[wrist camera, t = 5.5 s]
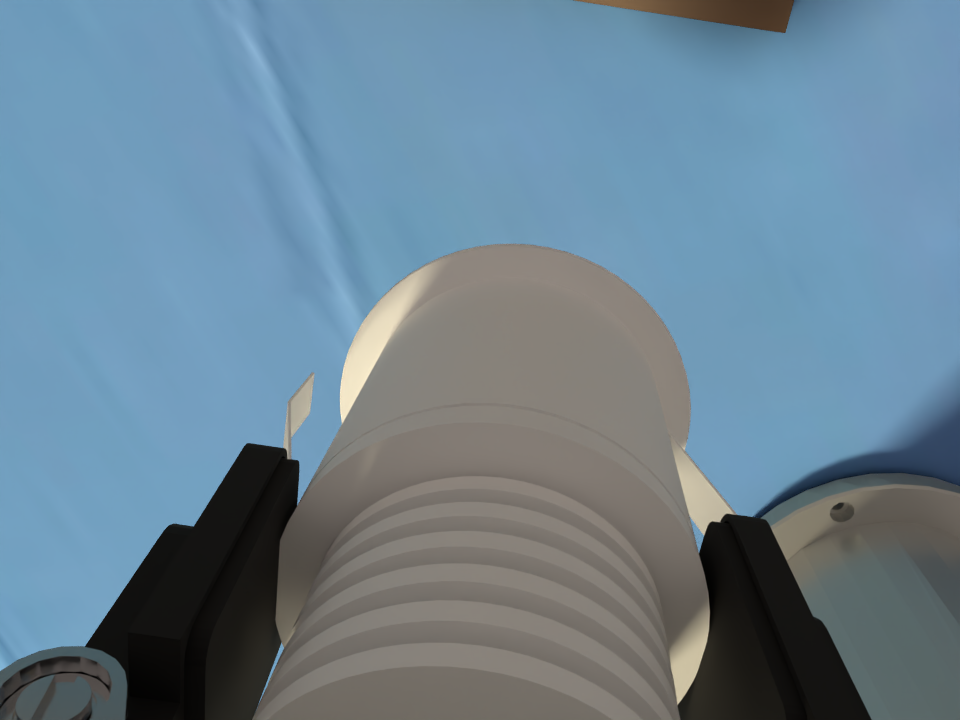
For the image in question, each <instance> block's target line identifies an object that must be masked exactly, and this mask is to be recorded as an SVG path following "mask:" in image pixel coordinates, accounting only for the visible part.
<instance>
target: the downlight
mask: <svg viewBox="0 0 960 720" xmlns="http://www.w3.org/2000/svg"><path fill="white" fill-rule="evenodd" d="M313 381H314V373H311V374H310V376H309V377H308V378H307V379H306V381H305V382H304V383H303V384H302V385H301V387H300V388H299V389H298V390H297V391H296V393H295V394H294V395H293V396H292V397H291V399H290V400H289V401H288V407H287V416H286V426H285V436H284V448H285V449H286V450H287V459H291V438H292V436H293V435H294V434H295V432H296V431H297V430H298V428H299V427H300V426H301V424H302V423H303V421H304V420H305V419H306V417H307V416H308V415H309V413H310V407H311V398H312V390H313ZM690 410H691V404H690V391H689V385H688V380H687V375H686V371H685V368H684V365H683V362H682V358H681V355H680V353H679V351H678V348H677V346H676V344H675V342H674V339H673V338H672V336H671V334H670V332H669V331H668V329H667V327H666V325H665V324H664V322H663V321H662V320H661V318H660V317H659V315H658V314H657V313H656V311H655V310H654V309H653V308H652V307H651V306H650V305H649V303H648V302H647V301H646V300H645V299H644V298H643V297H642V296H641V295H640V294H639V293H638V292H637V291H635V290H634V289H633V288H632V287H631V286H630V285H629V284H627V283H626V282H624V281H623V280H622V279H620V278H619V277H618V276H616V275H615V274H613V273H611V272H610V271H608V270H606V269H605V268H603V267H601V266H599V265H597V264H595V263H593V262H591V261H589V260H587V259H585V258H582V257H579V256H576V255H574V254H571V253H568V252H565V251H561V250H557V249H553V248H549V247H542V246H536V245H526V244H494V245H487V246H479V247H474V248H469V249H465V250H461V251H457V252H454V253H452V254H449V255H446V256H443V257H440V258H438V259H436V260H434V261H432V262H430V263H427V264H425V265H424V266H422V267H420V268H419V269H417V270H415V271H413V272H412V273H410V274H409V275H407V276H406V277H405V278H403V279H402V280H401V281H399V282H398V283H397V284H396V285H395V286H393V287H392V288H391V289H390V290H389V291H388V292H387V293H386V294H385V295H384V296H383V297H382V298H381V299H380V300H379V301H378V303H377V304H376V305H375V306H374V307H373V309H372V310H371V311H370V313H369V314H368V316H367V317H366V318H365V320H364V321H363V323H362V325H361V326H360V328H359V330H358V332H357V334H356V335H355V337H354V340H353V342H352V344H351V347H350V349H349V351H348V355H347V358H346V361H345V365H344V369H343V374H342V380H341V391H340V412H341V419H342V425H341V427H340V429H339V431H338V433H337V434H336V436H335V438H334V440H333V442H332V444H331V445H330V447H329V449H328V451H327V453H326V455H325V456H324V458H323V460H322V462H321V464H320V465H319V467H318V469H317V471H316V473H315V475H314V476H313V478H312V480H311V482H310V484H309V486H308V487H307V489H306V491H305V493H304V495H303V496H302V498H301V500H300V502H299V504H298V506H297V507H296V509H295V511H294V513H293V514H292V516H291V518H290V520H289V521H288V523H287V525H286V528H285V530H284V532H283V535H282V537H281V539H280V550H279V567H278V584H277V601H276V618H275V621H276V626H277V629H278V632H279V635H280V639H281V642H282V644H283V646H284V650H283V652H282V654H281V656H280V658H279V660H278V663H277V665H276V667H275V669H274V672H273V674H272V676H271V678H270V681H269V683H268V686H267V688H266V690H265V692H264V695H263V697H262V699H261V701H260V703H259V705H258V708H257V710H256V712H255V714H254V717H253V719H252V720H680V715H679V711H678V707H677V705H678V704H679V702H680V701H681V700H682V698H683V697H684V696H685V694H686V693H687V691H688V689H689V687H690V686H691V684H692V682H693V681H694V678H695V676H696V674H697V672H698V669H699V666H700V662H701V659H702V656H703V653H704V650H705V647H706V643H707V638H708V633H709V619H710V607H709V594H708V589H707V584H706V579H705V574H704V571H703V567H702V563H701V560H700V556H699V552H698V548H697V544H696V540H695V536H694V532H693V529H692V525H691V521H690V517H691V518H692V520H693V521H694V522H695V524H696V525H697V526H698V528H699V529H700V531H701V532H702V533H703V535H705V532H706V529H707V526H708V525H709V523H710V522H712V521H714V522H720V521H721V519H722V517H723V516H724V515H725V514H734V515H737V514H736V513H735V511H734V510H733V509H732V508H731V506H730V505H729V504H728V503H727V502H726V500H725V499H724V498H723V497H722V495H721V494H720V493H719V492H718V491H717V489H716V488H715V487H714V486H713V485H712V483H711V482H710V481H709V480H708V478H707V477H706V476H705V475H704V474H703V472H702V471H701V470H700V469H699V467H698V466H697V465H696V464H695V463H694V461H693V460H692V459H691V458H690V456H689V455H688V454H687V453H686V452H685V447H686V443H687V439H688V433H689V426H690ZM689 516H690V517H689Z"/></svg>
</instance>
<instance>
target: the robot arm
mask: <svg viewBox="0 0 960 720" xmlns="http://www.w3.org/2000/svg"><path fill="white" fill-rule="evenodd" d="M298 482H299V461H298V460H292V459H287V450H286V449H285V448H278V447H272V446H265V445H258V444H251V443H247V444H246V445H245V446H244V448H243V449H242V451H241V452H240V454H239V456H238V457H237V459H236V460H235V462H234V463H233V465H232V467H231V468H230V470H229V471H228V473H227V475H226V476H225V478H224V479H223V481H222V483H221V484H220V486H219V487H218V489H217V491H216V492H215V494H214V495H213V497H212V498H211V500H210V502H209V503H208V505H207V506H206V508H205V510H204V511H203V513H202V514H201V516H200V518H199V519H198V521H197V522H196V524H195V526H194V527H193V526H186V525H179V524H172V525H169V526H168V527H167V528H166V529H165V530H164V531H163V533H162V534H161V536H160V537H159V539H158V540H157V541H156V543H155V544H154V546H153V547H152V549H151V550H150V552H149V553H148V555H147V556H146V558H145V559H144V561H143V562H142V564H141V565H140V566H139V568H138V569H137V571H136V572H135V574H134V575H133V577H132V578H131V580H130V581H129V583H128V584H127V586H126V587H125V588H124V590H123V591H122V593H121V594H120V596H119V597H118V599H117V600H116V602H115V603H114V605H113V606H112V608H111V609H110V611H109V612H108V613H107V615H106V616H105V618H104V619H103V621H102V622H101V624H100V625H99V627H98V628H97V630H96V631H95V633H94V634H93V635H92V637H91V638H90V640H89V641H88V643H87V644H86V646H85V647H83V646H71V647H57V648H52V649H47V650H42V651H38V652H36V653H33V654H31V655H29V656H26V657H24V658H21V659H19V660H17V661H15V662H14V663H12V664H11V665H9V666H8V667H6V668H5V669H3V670H1V671H0V720H252V719H253V717H254V714H255V711H256V709H257V706H258V703H259V701H260V698H261V695H262V693H263V690H264V687H265V685H266V682H267V679H268V677H269V674H270V671H271V669H272V666H273V664H274V661H275V658H276V656H277V653H278V650H279V648H280V645H281V639H280V635H279V632H278V629H277V626H276V621H275V618H276V601H277V584H278V567H279V550H280V539H281V537H282V535H283V532H284V530H285V528H286V525H287V523H288V521H289V520H290V518H291V516H292V514H293V513H294V511H295V509H296V507H297V498H298ZM699 556H700V560H701V563H702V567H703V571H704V574H705V579H706V584H707V589H708V594H709V607H710V619H709V633H708V638H707V643H706V647H705V650H704V653H703V656H702V659H701V662H700V666H699V669H698V672H697V674H696V676H695V678H694V681H693V682H692V684H691V686H690V687H689V689H688V691H687V693H686V694H685V696H684V697H683V698H682V700H681V701H680V702H679V704H678V705H677V707H678V711H679V715H680V720H960V486H958V485H955V484H952V483H949V482H946V481H943V480H940V479H937V478H934V477H927V476H920V475H913V474H906V473H883V474H866V475H860V476H855V477H849V478H844V479H839V480H835V481H832V482H829V483H826V484H823V485H820V486H817V487H815V488H812V489H809V490H806V491H804V492H802V493H800V494H798V495H796V496H794V497H792V498H791V499H789V500H787V501H785V502H783V503H781V504H779V505H777V506H776V507H775V508H773V509H772V510H771V511H769V512H768V513H767V514H765V515H764V516H763V517H761V518H754V517H748V516H741V515H734V514H725V515H724V516H723V517H722V519H721V521H720V522H714V521H712V522H710V523H709V525H708V526H707V529H706V532H705V535H704V539H703V542H702V545H701V549H700V552H699Z"/></svg>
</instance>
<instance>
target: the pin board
mask: <svg viewBox="0 0 960 720" xmlns="http://www.w3.org/2000/svg"><path fill="white" fill-rule="evenodd" d="M575 1H581V2H588V3H594V4H601V5H607V6H613V7H620V8H626V9H633V10H639V11H646V12H652V13H658V14H665V15H671V16H678V17H684V18H691V19H697V20H703V21H710V22H716V23H723V24H729V25H736V26H742V27H748V28H755V29H761V30H768V31H774V32H782V33H785V32H786V29H787V25H788V21H789V17H790V14H791V10H792V6H793V3H794V0H575Z"/></svg>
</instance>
